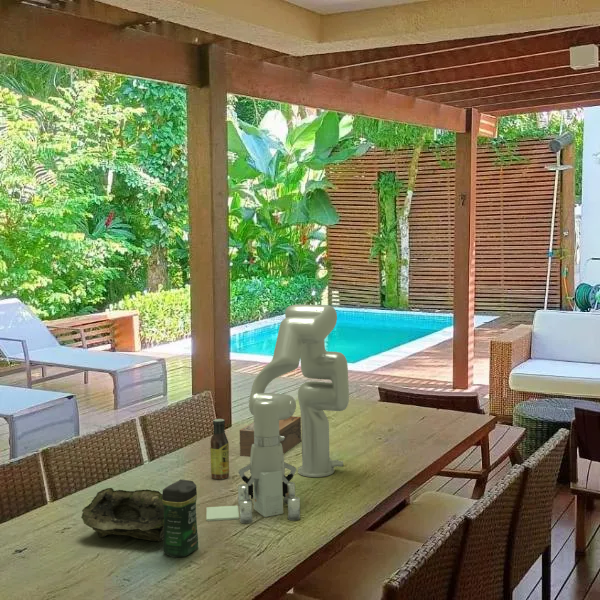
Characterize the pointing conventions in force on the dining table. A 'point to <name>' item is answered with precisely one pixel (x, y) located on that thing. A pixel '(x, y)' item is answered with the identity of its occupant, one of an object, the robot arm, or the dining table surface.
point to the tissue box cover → (286, 428)
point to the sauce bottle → (219, 451)
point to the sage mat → (222, 513)
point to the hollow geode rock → (126, 514)
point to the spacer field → (247, 503)
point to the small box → (268, 493)
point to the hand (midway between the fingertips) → (267, 496)
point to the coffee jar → (180, 518)
